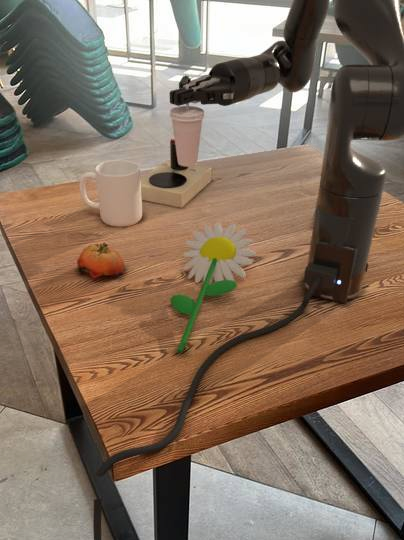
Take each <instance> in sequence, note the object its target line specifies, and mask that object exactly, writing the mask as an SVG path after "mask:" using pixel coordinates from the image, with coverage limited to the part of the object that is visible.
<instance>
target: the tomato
mask: <svg viewBox="0 0 404 540" xmlns="http://www.w3.org/2000/svg"><path fill="white" fill-rule="evenodd" d="M76 264H77V269H78V271H79V273H80V274H81V272H82V271H81V270H82V269H83V268H87V269H89V275H90V277H91V278H92V279H95V278H98V277H100V276H113V275H119V274H124V273H125V262H124V259H123V258H122V256H121V254H120V252H118V251H117V250H116V249H114V248H112V247H109V244H108V243H106V242H103V243H96V244H90V245H88V246H86V247H84V249H83V250H82V251H81V253H80V254H79V257H78V258H77V260H76ZM86 272H87V270H85V273H86Z"/></svg>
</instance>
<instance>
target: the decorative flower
mask: <svg viewBox="0 0 404 540" xmlns="http://www.w3.org/2000/svg"><path fill="white" fill-rule="evenodd" d="M236 227H237V225H236V223H231V224H230V225H229V226H227V228H225V230H224V229H223V226H222V224H221V223H220V222H216V223H215V224H214V226H213V228H212V227H211V226H210V225H209V224H205V225H204V227H203V233H202V232H200V231H198V230H193V231H192V233H191V234H192V237H193V238H194V240H187V241H185V242H184V245H185V246H186V247H187V248H188V249H192V250H189V251H186V252H184V253H182V254H181V256H182V257H184V258H188V259H189V261H188V262H186V264H185V265H184V267H183V269H182V271H184V272H187V271H189V270H190V271H189V273H188V276H187V279H188V280H191V279H192V278H194V282H195V284H198V283H199V282H200V281H202V280H203V283H202V285H201V289H200V290H199V292H198V293H199V294H198V296H197V298H196V301H195V300H194V299H193V298H192V297H190V296H188V295H185V294H181V293H178V294H177V293H176V294H172V296H171V297H170V304H171V306H172V307H173V308H174V310H175V311H177V312H179V313H180V314H184V315H187V316H188V315H189V316H190V317H189V320H188V322H187V324H186V327H185V330H184V331H183V334H182V337H181V340H180V343H179V345H178V347H177V350H176V352H177V353H178V354H183V353H184V350H185V347H186V345H187V342H188V339H189V336H190V334H191V332H192V330H193V329H192V328H193V326H194V323H195V321H196V318H197V316H198V313H199V310H200V307H201V305H202V303H203V300H204V297H205V295H206V296H212V297H217V296H222V295H225V294H228V293H230V292H232V291H234V290H235V289H236V288H237V286H238V282H237V281H235V278H234V277H235V276H234V274H235V275H236V276H238V277H239V278H243V279H244V278H247V273H246V272H245V270H244V268H242V267H241V266H251V265H253V261H252V260H251V259H249V258H250V257H253V256H256V255H257V253H256V251H255V250H252V249H250V248H247V247H248V246H250V245H251V244H253V242H254V239H253V238H244V237H245V235H246V234H247V228H242V229H240V230H237V231H236ZM235 231H236V232H235ZM243 238H244V239H243ZM213 280H214V282H213Z"/></svg>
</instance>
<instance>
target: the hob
mask: <svg viewBox="0 0 404 540" xmlns="http://www.w3.org/2000/svg"><path fill="white" fill-rule="evenodd" d="M212 169H213V168H212V167H210V166H205V165H198V164H196V165H194V166H189V167H188V169H186V170H174V169H172V168H171V163H170V159H166V160H165V161H164V162H162V163H161V164H159V165H158V166H157V167H155V168H154V169H152V171H150V172H148V173H147V174H146V175H145V176H143V177H142V178H140V179H141V198H142V201H146V202H151V203H157V204H161V205H166V206H170V207H176V208H181V209H182V208H183V207H184V206H186V204H188V203H189V202H190V201H191V200H192V199H193V198H194V197H195V196H196V195H197V194H198V193H199V192H201V191H202V190H203V189H204V188H205V187H206V186H207V185H208V184H209V183H210V182H212ZM163 172H173V173H178V174H182V175H184V176H185V177H186V178H187V182H186V183H185V184H184V185H182V186H180V187H176V188H160V187H156V186H153V185H151V184H150V183H149V178H150V177H151V176H152V175H154V174H157V173H163Z"/></svg>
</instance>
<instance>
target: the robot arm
mask: <svg viewBox="0 0 404 540" xmlns="http://www.w3.org/2000/svg"><path fill="white" fill-rule="evenodd" d="M332 5H333V16H334V21H335V23H336V27H337V28H338V30H339V31H340V33H341V34H342V37H344V39H345V40H346V41H347V42H348V43H349V44H350V45H351V46H352V48H354V49H355V50H356V51H357V52H358V53H359V54H360V55H361V56H362V57H363V58H364V59H365V60H366V61H367V63H368V64H345V65H342V66H340V67H339V69H337V72H336V73H335V75H334V77H333V81H332V83H331V85H332V86H331V89H330V95H329V102H328V113H327V123H326V133H325V134H326V135H325V143H324V150H323V158H322V165H321V173H320V179H319V185H318V192H317V199H316V205H315V211H314V217H313V218H314V219H313V224H312V232H311V238H310V244H309V251H308V259H307V265H306V267H305V269H304V275H303V284H304V287H305V288H306V290H307V292H306V294H305V295H304V297H303V299H302V302H301V304H300V305H299V306H298V307H297V308H296V310H295V311H293V312H292V313H291V314H289V316H287V317H285V318H283V319H280V320H279V321H277V322H274V323H272V324H270V325H268V326H264V327H262V328H258V329H255V330H251V331H248V332H244V333H241V334H239V335H237V336H235V337H233V338H231V339H230V340H228V341H226V342H225V343H223V344H222V345H220V346H218V348H216V349H215V350H213V352H212V353H211V354H210V355H208V356H207V358H206V359H205V360H204V362H203V363H202V364H201V365H200V366H199V368H198V369H197V371H196V373H195V375H194V377H193V379H192V382H191V383H190V385H189V389H188V391H187V393H186V394H185V395H186V396H185V397H184V399H183V401H182V404H181V407H180V409H179V412H178V416H177V418H176V422H175V424H174V426H173V428H172V429H171V431H170V432H168V434H167V435H165V437H163V438H162V439H161V440H159V441H158V442H155V443H152V444H147V445H143V446H136V447H132V448H127V449H124V450H121V451H118V452H116V453H114V454H112V455H111V456H109V457H108V458H107V459H106V460H105V461H104V462H103V463H102V464H101V465H100V466H99V468H98V470H97V471H96V474H95V475H96V476H97V477H99V478H100V477H103V476H105V475H106V473H107V472H108V471H109V469H110V468H112V467H113V466H114V465H115V464H117V463H118V462H120V461H122V460H125V459H128V458H132V457H137V456H142V455H147V454H148V455H149V454H152V453H156V452H158V451H160V450H162V449H164V448H166V447H167V446H169V445H170V444H171V443H172V442H174V440H175V439H176V438H177V437H178V435H179V434H180V432H181V430H182V428H183V427H184V423H185V420H186V418H187V415H188V412H189V409H190V405H191V403H192V401H193V399H194V396H195V394H196V392H197V389H198V387H199V384H200V382H201V379H202V378H203V376H204V374H205V372H206V371H207V370H208V368H209V367H210V366H211V365H212V364H213V363H214V362H215V361H216V360H217V358H218V357H219V356H220V355H223V353H225V352H226V351H228V350H229V349H231V348H232V347H234V346H236V345H237V344H240V343H241V342H243V341H246V340H249V339H253V338H256V337H260V336H263V335H265V334H269V333H271V332H273V331H275V330H277V329H280V328H283V327H284V326H286V325H288V324H290V323H291V322H293V321H294V320H295V319H297V318H298V317H299V316H300V315H301V314H302V313H303V312H304V311H305V309H306V308H307V307H308V305H309V303H310V300H311V298H312V297H315V298H320V299H324V300H328V301H332V302H335V303H336V302H337V303H341V304H346V303H347V301H348V300H353V299H355V298H357V297H358V296H359V295H361V293H362V290H363V282H364V280H365V279H364V278H365V275H366V274H368V269H369V263H368V260H369V256H370V252H371V251H370V250H371V246H372V242H373V237H374V232H375V229H376V223H377V220H378V215H379V210H380V206H381V203H382V197H383V193H384V189H385V185H386V180H387V171H386V169H385V167H384V166H383V165H382V164H380V163H379V162H378V161H376V160H374V159H371V158H370V157H368V156H365V155H364V154H363V155H362V154H361V153H358V152H357V151H355V150H354V149H353V148H352V147H351V143H352V141H380V142H381V141H384V142H385V141H395V140H398V139H401V138H403V137H404V30H403V29H404V28H403V24H402V16H401V5H400V0H332ZM329 8H330V0H292V2H291V5H290V8H289V11H288V14H287V17H286V20H285V22H284V26H283V30H282V36H283V39H284V40H277V41H275V42H273V44H271V45H270V46H269V47H268V48H267V49H266V50H264V51H262V52H261V53H260V54H257V55H253V56H249V57H239V58H236V59H231V60H227V61H223V62H219V63H216V64H214V65H213V66H212V67H211V69H210V70H209V72H208V74H203V75H201V76H200V77H198V78H194V79H192V78H191V77H190V76H188V75H183V76H182V77H181V79H180V81H179V82H178V88H175V89H173V90H170V91H169V103H170V105H174V106H176V107H180V106H185V105H186V104H187V103H189V104H190V103H192V104H198V103H200V104H201V105H203V106H205V105H219V106H222V107H229V106H231V105H234V104H237V103H241V102H244V101H247V100H251V99H252V98H254V97H256V96H258V95H263V94H266V93H267V92H270V91H272V90H274V89H275V88H277V86H278V85H280V86H281V87H282V88H283V89H284V90H286V91H287V92H289V93H297V92H300V91H302V90H303V89H304V88H305V87H306V86H307V85H308V83H309V82H310V80H311V78H312V75H313V72H314V69H315V68H314V67H315V62H316V52H317V43H318V42H317V41H318V38H319V36H320V33H321V31H322V29H323V25H324V24H325V21H326V18H327V15H328V12H329ZM186 84H188V85H189V89H186ZM365 273H366V274H365ZM102 511H103V499H102V498H96V499H93V520H92V521H93V522H92V523H93V525H92V526H93V527H92V528H93V540H102Z"/></svg>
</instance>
